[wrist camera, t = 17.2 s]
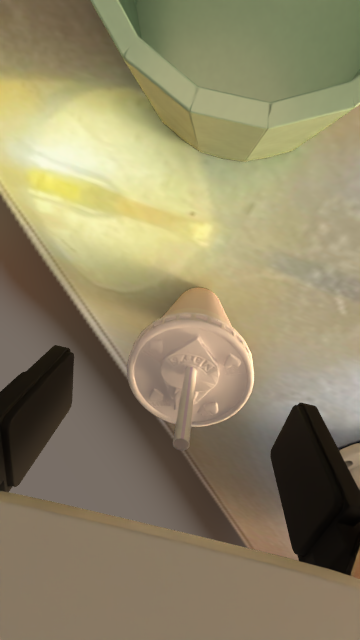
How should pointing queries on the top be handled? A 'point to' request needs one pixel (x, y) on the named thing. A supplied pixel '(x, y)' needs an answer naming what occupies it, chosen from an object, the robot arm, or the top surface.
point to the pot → (241, 68)
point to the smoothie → (191, 365)
